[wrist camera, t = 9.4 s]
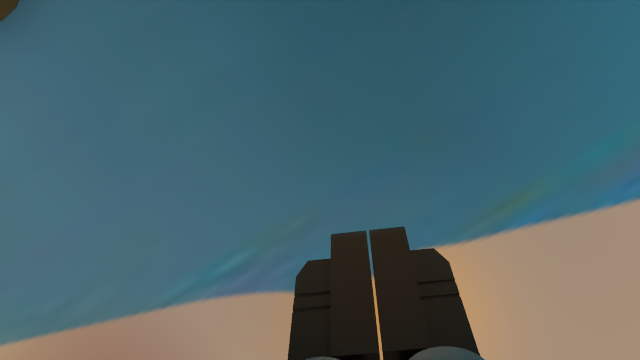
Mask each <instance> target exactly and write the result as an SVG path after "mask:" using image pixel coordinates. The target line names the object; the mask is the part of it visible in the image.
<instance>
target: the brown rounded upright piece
mask: <svg viewBox="0 0 640 360" xmlns="http://www.w3.org/2000/svg"><path fill="white" fill-rule="evenodd" d="M18 1H19V0H0V21H2V20H4V19H5V18H6V17H7V16H8V15H9V14H10V13H11V12H12V11H13V10H14V9H15V8H16V5H17V3H18Z"/></svg>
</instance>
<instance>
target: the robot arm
mask: <svg viewBox="0 0 640 360" xmlns="http://www.w3.org/2000/svg"><path fill="white" fill-rule="evenodd" d="M369 233H370V242H371V252H372V261H373V270H374V279H375V288H376V296H377V306H378V315H379V324H380V333H381V342H382V351H383V360H484V359H483V358H482V357H481V356H480V354H479V352H478V349H477V346H476V343H475V339H474V337H473V333H472V330H471V327H470V324H469V321H468V319H467V315H466V312H465V309H464V306H463V303H462V300H461V297H460V296H459V291H458V288H457V285H456V283H455V279H454V276H453V273H452V270H451V267H450V264H449V262H448V261H447V260H446V259H445V258H444V257H443V256H442V255H440V254H439V253H438V252H437V251H436V250H435V249H434V248H431V249H421V250H411V251H410V249H409V245H408V240H407V236H406V231H405V228H404V227H396V228H387V229H377V230H369ZM294 295H295V298H294V304H293V313H292V323H291V333H290V344H289V353H288V360H380V354H379V345H378V335H377V325H376V315H375V307H374V297H373V288H372V279H371V270H370V261H369V253H368V244H367V235H366V231H359V232H349V233H339V234H331V259H322V260H312V261H307V263H306V264H305V266H304V267H303V268H302V270H301V271H300V272H299V274H298V275H297V277H296V284H295V294H294Z"/></svg>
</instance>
